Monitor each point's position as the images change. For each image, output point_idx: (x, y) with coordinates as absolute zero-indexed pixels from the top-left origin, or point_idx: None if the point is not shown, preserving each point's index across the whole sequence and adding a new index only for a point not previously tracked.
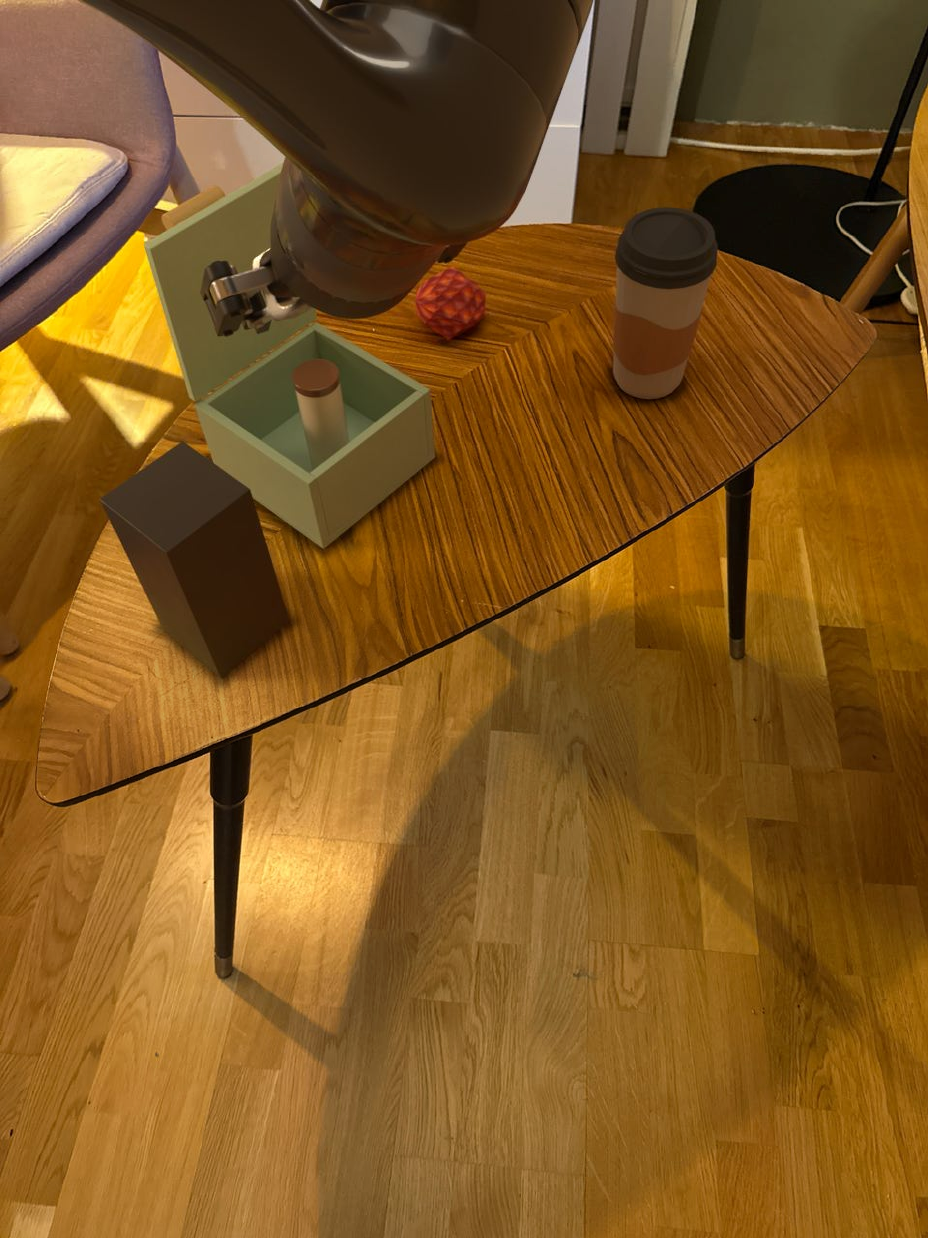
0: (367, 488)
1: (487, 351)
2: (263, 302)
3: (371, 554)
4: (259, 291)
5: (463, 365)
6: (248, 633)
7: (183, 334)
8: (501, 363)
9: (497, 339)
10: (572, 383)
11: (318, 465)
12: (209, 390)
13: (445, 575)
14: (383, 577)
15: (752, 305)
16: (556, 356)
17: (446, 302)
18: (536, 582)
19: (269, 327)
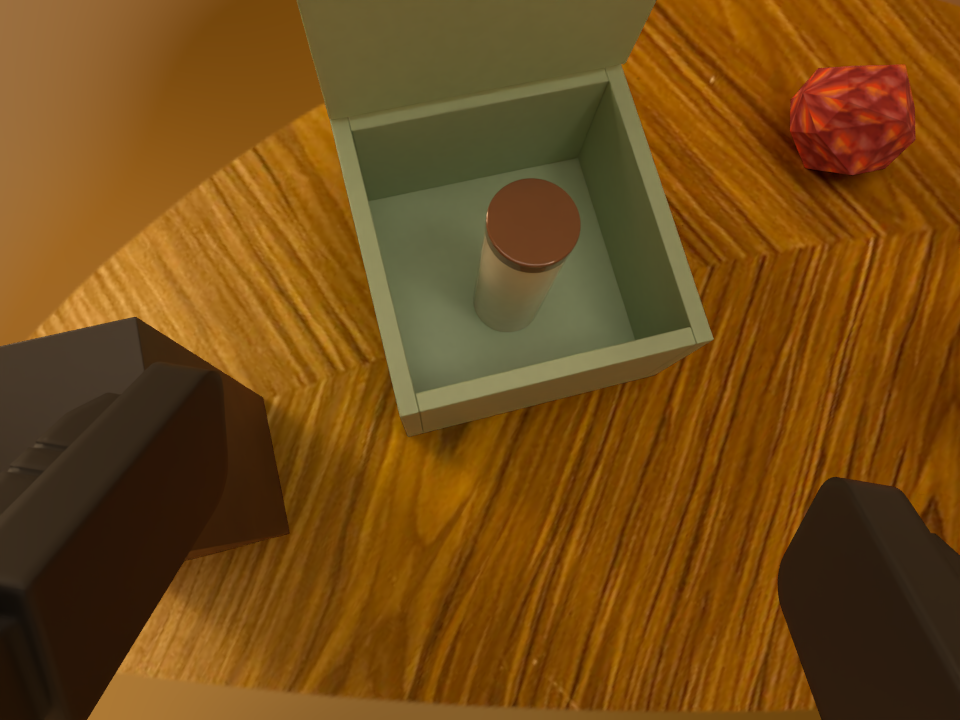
0: (517, 403)
1: (845, 225)
2: (47, 673)
3: (465, 490)
4: (35, 627)
5: (796, 229)
6: (198, 556)
7: (321, 18)
8: (851, 261)
9: (873, 212)
10: (929, 368)
11: (478, 305)
12: (364, 111)
13: (540, 599)
14: (456, 543)
15: None
16: (938, 301)
17: (848, 128)
18: (654, 702)
19: (180, 565)
